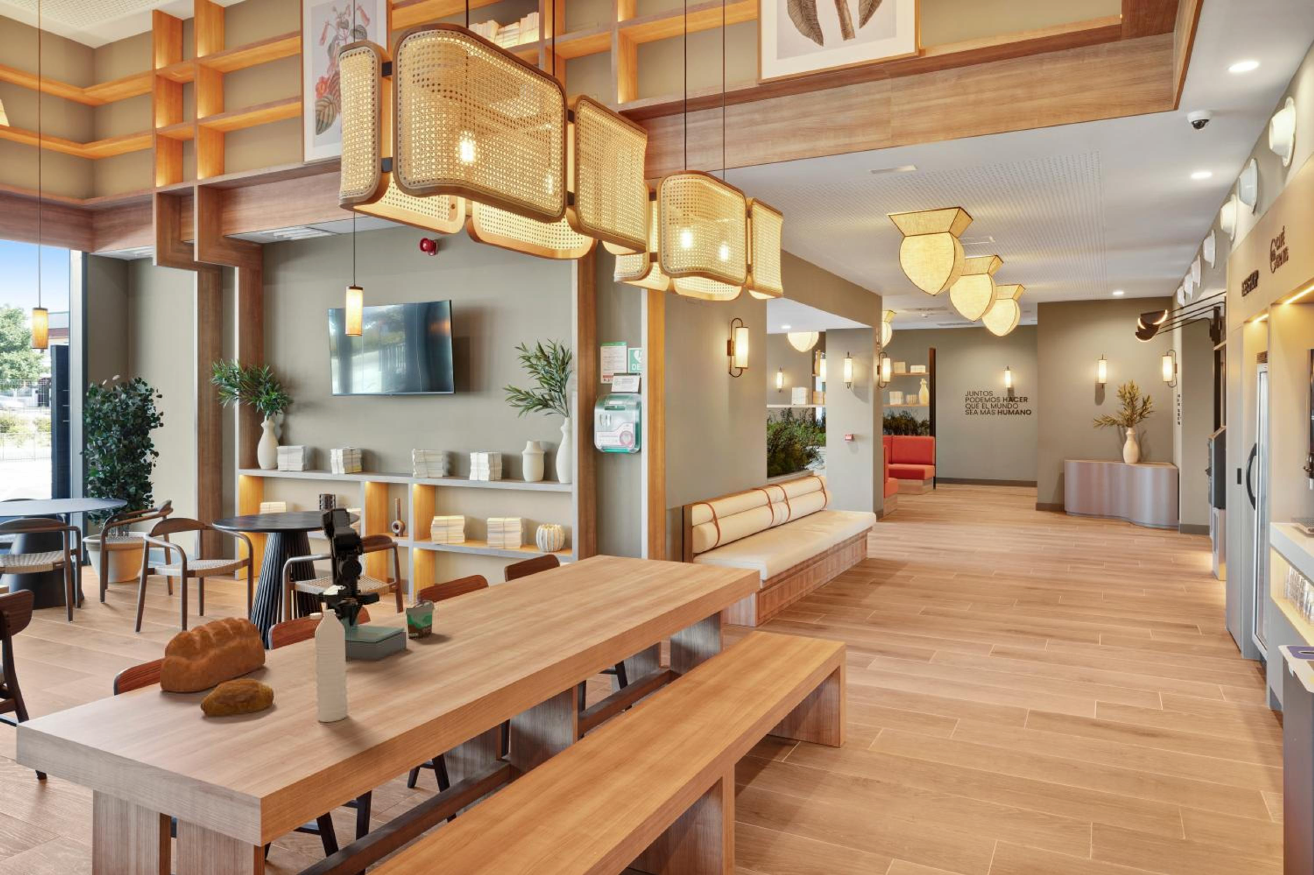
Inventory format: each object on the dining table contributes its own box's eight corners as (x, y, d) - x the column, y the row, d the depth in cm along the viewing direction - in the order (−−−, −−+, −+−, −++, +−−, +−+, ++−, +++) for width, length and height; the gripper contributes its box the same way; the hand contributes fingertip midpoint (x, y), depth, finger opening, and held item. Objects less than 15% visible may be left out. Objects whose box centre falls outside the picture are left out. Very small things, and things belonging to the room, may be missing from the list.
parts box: (331, 657, 245) (330, 640, 245) (362, 644, 259) (362, 628, 259) (376, 661, 240) (376, 643, 240) (406, 648, 253) (406, 631, 253)
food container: (424, 640, 262) (423, 608, 262) (406, 639, 264) (405, 608, 263) (442, 630, 274) (441, 600, 274) (424, 630, 276) (423, 599, 275)
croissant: (268, 723, 198) (272, 689, 198) (194, 721, 194) (198, 687, 194) (277, 702, 212) (281, 670, 212) (209, 700, 207) (213, 668, 207)
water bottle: (331, 711, 198) (328, 605, 198) (353, 714, 196) (350, 607, 195) (303, 724, 190) (300, 614, 190) (326, 727, 188) (323, 615, 187)
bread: (153, 691, 217) (151, 632, 217) (232, 662, 242) (230, 609, 242) (196, 695, 213) (194, 634, 213) (272, 665, 238) (270, 611, 238)
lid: (328, 638, 246) (328, 622, 245) (360, 627, 259) (360, 611, 259) (374, 642, 240) (374, 625, 240) (404, 630, 254) (404, 614, 253)
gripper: (302, 577, 247) (304, 630, 247) (355, 580, 241) (356, 634, 241) (328, 571, 257) (330, 621, 258) (380, 573, 251) (381, 625, 252)
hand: (349, 625), depth 252 cm, fingers closed on lid, 2 cm apart
